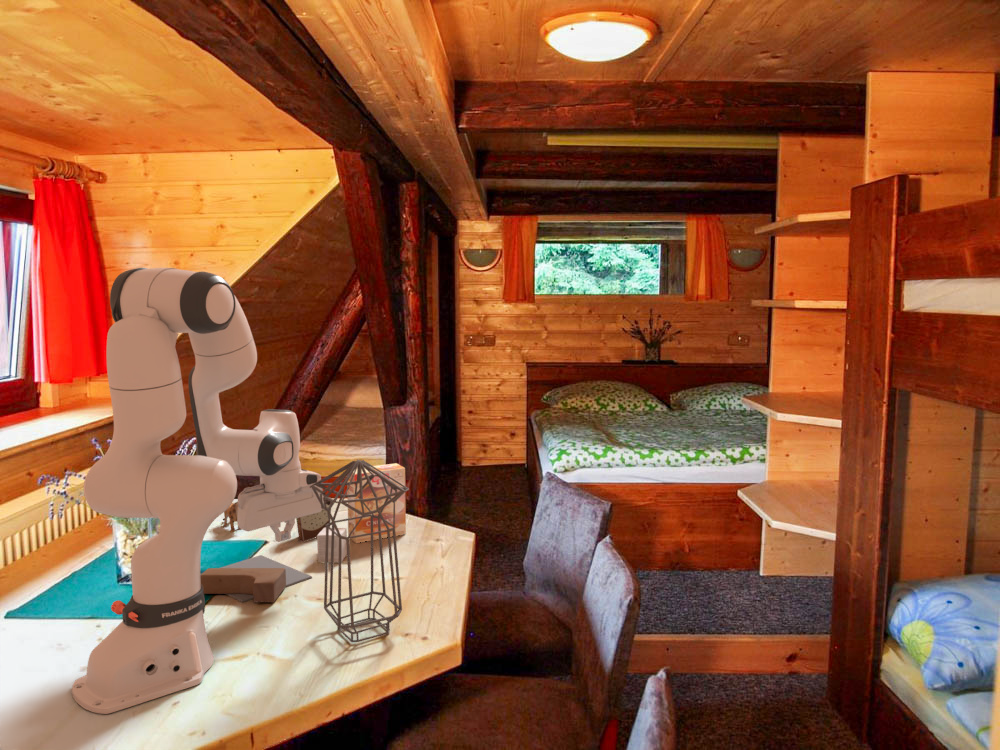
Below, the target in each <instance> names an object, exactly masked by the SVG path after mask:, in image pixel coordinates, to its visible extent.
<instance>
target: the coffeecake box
mask: <svg viewBox="0 0 1000 750" xmlns="http://www.w3.org/2000/svg"><path fill="white" fill-rule="evenodd" d="M373 466H374V467H375V468H377V469H378V470H380V471H382V472H383V473H385V474H386V475H388V476H390V477H391V478H393V479H394V480H396V481H398V482H399V483H401V484H402V485H404V486H406V468H405V467H404V466H403V465H400V464H399V463H396V462H395V463H389V464H388V463H387V464H377V465H373ZM370 467H371V466H370ZM373 469H374V468H373ZM374 470H376V469H374ZM354 471H355V470H354ZM365 471H366V473H367V475H368V476H369V475H372V474H371V473H369V472H368V471H367V470H366V469H365ZM376 471H377V470H376ZM377 472H379V471H377ZM353 473H354V472H353ZM353 473H352V475H353ZM379 473H380V472H379ZM373 474H374V473H373ZM380 474H382V473H380ZM352 475H351V477H350V478H349V480H348V482H350V480H351V478H352ZM374 475H376V474H374ZM382 475H383V476H385V475H384V474H382ZM364 477H365V475H364V473H363V471H362V478H364ZM385 477H386V478H388V477H387V476H385ZM388 479H389V480H391V481H392V482H394V483H395V484H397V485H398V486H399V487H403V486H401V485H400V484H398V483H396V482H395V481H393V480H392V479H390V478H388ZM353 481H357V470H356V472H355V475H354V477H353V479H352V482H353ZM348 482H347V483H348ZM366 482H367V480H363V481H362V486H363V485H364V484H365V483H366ZM370 482H371V484H372V486H373V488H374V490H375V492H376V495H377V497H381V496H385V495H387V494H386V491H385V488H384V486H383V483H382V480H381V479H380V478H379V477H378V476H374V478H373V479H372V480H371V481H370ZM346 486H347V487H348V485H346ZM355 486H356V484H351V485H350V487H349V489H348V491H347V494H346V495H351V494H355ZM386 486H387V489H388V492H389V494H390V491H391V487H390V486H389V485H388V484H386ZM359 490H360V487H359V483H358V484H357V492H358V491H359ZM399 491H400V490H398V489H397V492H399ZM392 493H395V490H392ZM358 496H359V497H360V493H359V495H358ZM358 496H356V497H347V500H350V499H359V498H358ZM391 497H392V498H393V497H394V496H391ZM368 498H374V495H373V493H372V491H371V488H370V486H369V484H368V485H367V486H366V487H365V488H364V489H363V499H368ZM385 500H386V498H385V499H381V500H378V508H379V507H381V506H382V505H383V504H384V502H385ZM389 500H390V499H389ZM389 500H388V501H389ZM364 503H365V504H366V505H367V507H368V508H369V509H370V510H371V511H373V510H377V509H376V501H375V500H374V501H367V502H364ZM347 504H349V505H350V506H352V507H354V508H356V509H357V510H359V511H361V512H362V507H361V503H360V501H359V502H350V503H347ZM363 507H364V512H365V513H366V512H369V510H368V509H367V508H366V507H365V505H364V504H363ZM393 508H394V503H393V502H391V503H390V504H388V505H387V506H385V507H384V509H383V511H382V513H381V514H382V516H383V517H384V519H385V520H387V521H388V522H390V523H391V524H393ZM406 511H407V510H406V492H405V493H404V494H403V495H402V496H401V497H400V498H398V499H397V501H396V502H395V533H396V537H399V536H398V535H400V536H404V535H403V534H406V535H407V530H406V529H407V528H406V527H407V526H406V525H407V521H406V520H407V519H406V517H407V515H406ZM362 513H363V512H362ZM373 514H374V515H375V516H378V514H379V513H378V512H376V513H373ZM371 515H372V514H371ZM359 516H362V515H360V514H358V513H357V512H355V511H353V510H351V509H350V508H348V507H347V519H348V518H354V517H359ZM359 520H360V518H358V519H353V520H347V533H348V535H347V537H348V536H349V534H350V533H351V531H352V530H353V528H354V527H355V525H356V524H357V523H358V521H359ZM380 524H381V531H384V530H387V528H386V526H385V525H384V523H383V521H382V519H380ZM387 525H388V527H389V529H390V528H393V527H392V526H391V525H389V524H388V523H387ZM373 532H378V519H377V518H373ZM367 533H371V516H369V517H364V518H362V520H361V521H360V522H359V524H358V525H357V527H356V528H355V530H354V531H353V533H352V534H351V535H350V537H351V536H356V535H362V534H367ZM392 536H393V530H392V531H390V538H393V537H392ZM381 538H383V539H388V538H387V532H383V533H381ZM377 539H378V540H379V533H378V534H373V541H376V540H377ZM351 541H352V542H354V544H361V543H365V541H367V542H371V535H367V536H362V537H356V538H351ZM360 542H361V543H360Z"/></svg>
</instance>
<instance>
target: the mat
mask: <svg viewBox="0 0 1000 750" xmlns="http://www.w3.org/2000/svg"><path fill="white" fill-rule="evenodd" d="M220 568H285V570H286V587H285V588H287V586H288V587H289V586H290V587H291V586H292V585H296V584H299V583H301V581H302V582H304V581H307V580H309V578H310V579H312V578H313V576H312V575H310V574H307V573H305V572H303V571H300V570H298V569H295V568H293V567H290V566H288V565H286V564H283V563H282V562H278V561H276V560H274V559H272V558H269V557H267V556H265V555H262V554H261V555H257V556H254V557H250V558H247V559H243V560H241V561H237V562H235V563H230V564H227V565H225V566H221V567H220ZM202 573H203V572H202ZM202 573H201V572H200V576H201V574H202ZM306 579H307V580H306ZM298 582H299V583H298ZM295 583H296V584H295ZM226 595H227V596H230V597H232V598H233V599H235V600H237V601H238V602H241V603H245V602H248V601H250V600H254V595H251V594H226Z"/></svg>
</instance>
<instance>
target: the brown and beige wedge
mask: <svg viewBox="0 0 1000 750" xmlns="http://www.w3.org/2000/svg"><path fill="white" fill-rule="evenodd" d="M328 498H331V499H332V497H330V496H329V497H328ZM325 501H326V507H329V506H330V504H331V502H330V501H328V500H325ZM330 512H331V513H332V508H331V509H330ZM329 517H330V516H329ZM295 521H296V526H297V534H298V540H299V541H300V542H302V543H304V541H305V542H308V541H310V539H311V540H313V538H314V539H316V538H315V537H317V535H318V534H319V533H320V532H321V531H322V530H323V528H326V526H325V524H329V520H328V514H327V511H325V510H324V509H322V510H321V512H317V513H314V514H310V515H307V516H303V517H299V518H296V519H295ZM330 521H331V519H330ZM329 527H330V528H331V525H330V526H329ZM307 540H308V541H307Z"/></svg>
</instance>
